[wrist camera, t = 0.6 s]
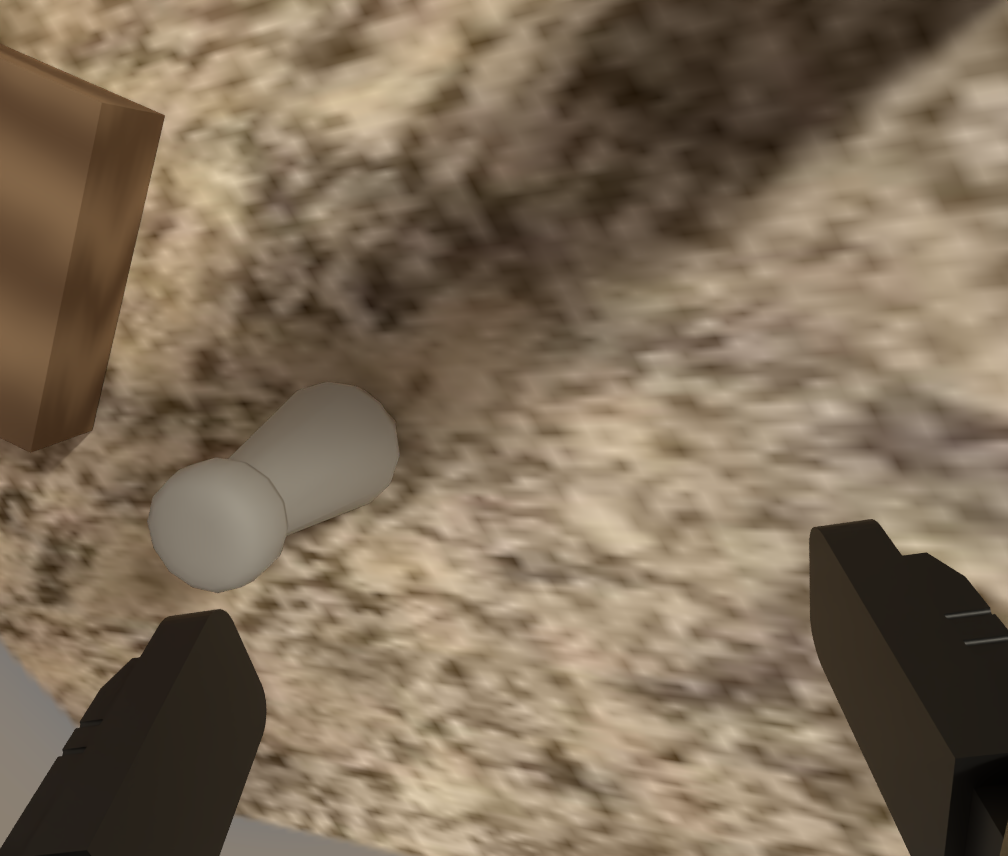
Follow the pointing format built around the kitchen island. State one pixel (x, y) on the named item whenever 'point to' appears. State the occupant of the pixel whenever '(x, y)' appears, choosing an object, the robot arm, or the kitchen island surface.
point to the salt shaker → (274, 486)
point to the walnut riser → (63, 241)
